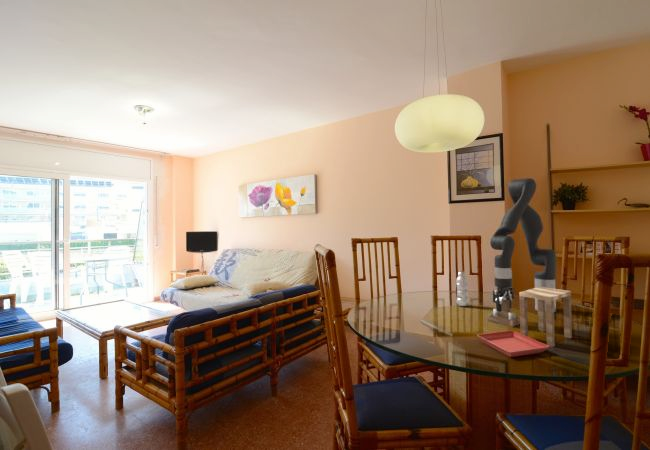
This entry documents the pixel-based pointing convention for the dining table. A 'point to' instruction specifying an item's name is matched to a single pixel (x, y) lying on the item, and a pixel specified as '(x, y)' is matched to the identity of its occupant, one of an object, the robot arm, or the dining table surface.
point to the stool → (549, 296)
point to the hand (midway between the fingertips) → (504, 309)
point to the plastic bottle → (462, 289)
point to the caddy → (504, 315)
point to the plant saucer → (512, 343)
